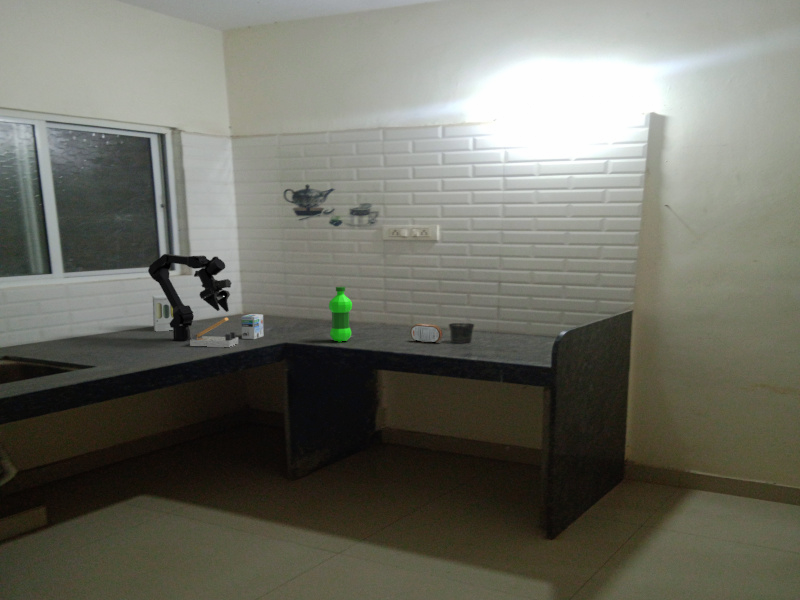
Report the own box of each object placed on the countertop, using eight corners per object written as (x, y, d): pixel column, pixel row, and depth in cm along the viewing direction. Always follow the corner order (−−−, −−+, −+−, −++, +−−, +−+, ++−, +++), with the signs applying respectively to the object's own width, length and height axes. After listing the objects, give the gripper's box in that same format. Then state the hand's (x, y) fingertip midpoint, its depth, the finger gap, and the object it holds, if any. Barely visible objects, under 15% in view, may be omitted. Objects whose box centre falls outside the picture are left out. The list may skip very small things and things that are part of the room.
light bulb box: (254, 339, 296) (254, 316, 295) (241, 339, 297) (240, 316, 296) (264, 336, 306) (263, 313, 305) (251, 335, 308) (250, 313, 307)
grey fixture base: (190, 346, 277) (189, 334, 276) (200, 342, 286) (199, 330, 286) (229, 347, 274) (229, 335, 274) (238, 343, 284) (238, 331, 284)
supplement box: (154, 331, 319) (153, 297, 317) (153, 328, 331) (152, 295, 329) (182, 330, 324) (181, 296, 322) (180, 326, 336) (179, 294, 334)
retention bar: (196, 338, 279) (194, 335, 279) (199, 336, 283) (198, 334, 283) (225, 320, 277) (224, 318, 277) (228, 319, 280) (227, 317, 280)
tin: (442, 343, 287) (442, 324, 286) (440, 344, 284) (440, 325, 284) (412, 340, 294) (412, 322, 293) (409, 341, 291) (409, 323, 290)
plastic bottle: (356, 341, 292) (356, 287, 289) (339, 344, 284) (339, 288, 281) (341, 338, 298) (341, 285, 296) (324, 341, 291) (324, 287, 288)
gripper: (213, 269, 274) (229, 300, 272) (231, 274, 292) (246, 303, 290) (192, 282, 275) (207, 313, 273) (211, 285, 293) (226, 315, 291)
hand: (223, 311), depth 282 cm, fingers open, 9 cm apart
